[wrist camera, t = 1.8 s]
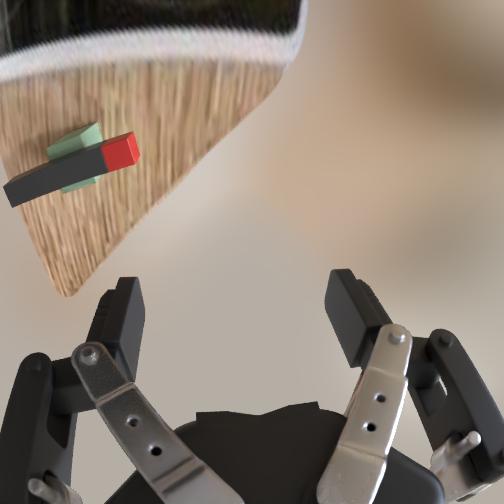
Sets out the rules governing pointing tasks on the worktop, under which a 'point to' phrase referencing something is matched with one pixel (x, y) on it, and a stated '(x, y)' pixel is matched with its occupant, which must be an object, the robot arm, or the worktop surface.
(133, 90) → the worktop surface
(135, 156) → the marker
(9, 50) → the worktop surface
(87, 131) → the block
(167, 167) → the worktop surface
